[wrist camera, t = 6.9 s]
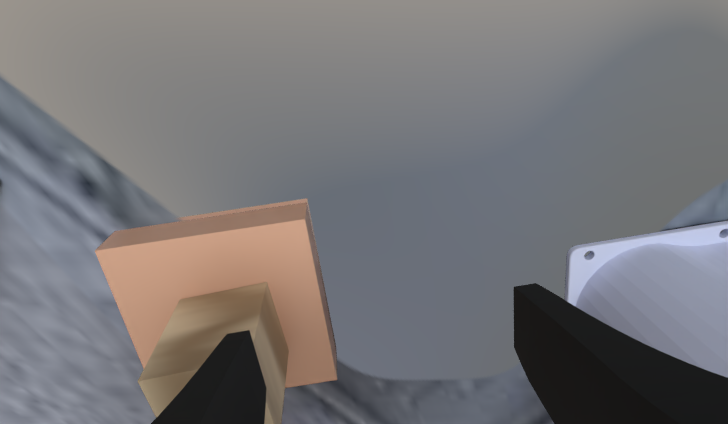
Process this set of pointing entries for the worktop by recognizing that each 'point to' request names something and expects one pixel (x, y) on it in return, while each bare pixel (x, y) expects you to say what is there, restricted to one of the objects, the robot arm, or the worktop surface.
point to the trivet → (227, 276)
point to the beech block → (202, 335)
